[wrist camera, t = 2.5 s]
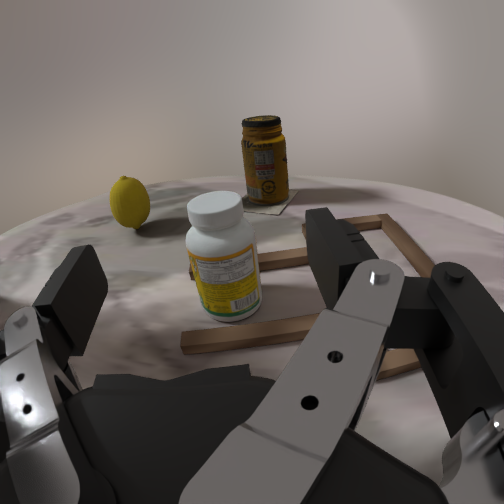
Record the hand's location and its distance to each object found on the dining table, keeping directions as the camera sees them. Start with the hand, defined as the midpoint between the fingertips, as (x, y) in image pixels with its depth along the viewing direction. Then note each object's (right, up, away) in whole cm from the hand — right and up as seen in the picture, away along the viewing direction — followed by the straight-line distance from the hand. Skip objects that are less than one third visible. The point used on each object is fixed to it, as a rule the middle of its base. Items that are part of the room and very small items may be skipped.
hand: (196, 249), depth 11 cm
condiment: (+4, +7, +34) cm, 35 cm away
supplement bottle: (0, -5, +16) cm, 17 cm away
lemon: (-14, +3, +31) cm, 34 cm away
